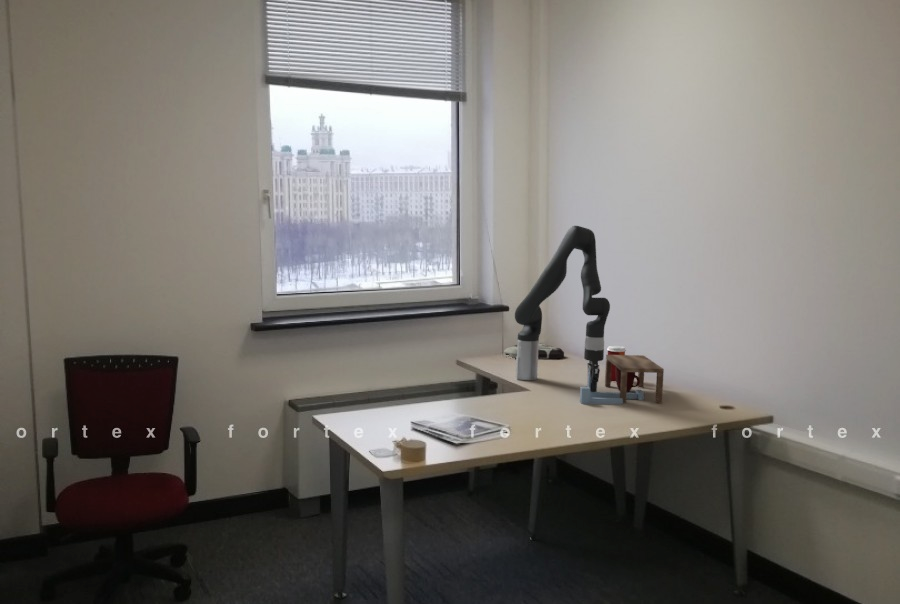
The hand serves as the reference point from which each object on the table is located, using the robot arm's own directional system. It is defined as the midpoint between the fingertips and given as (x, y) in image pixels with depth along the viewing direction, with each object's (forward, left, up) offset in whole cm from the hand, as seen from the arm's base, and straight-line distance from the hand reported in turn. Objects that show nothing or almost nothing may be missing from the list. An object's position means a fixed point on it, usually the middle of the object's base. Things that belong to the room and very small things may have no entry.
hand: (592, 390), depth 311 cm
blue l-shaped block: (+2, -10, -3) cm, 10 cm away
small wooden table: (+18, +7, -3) cm, 19 cm away
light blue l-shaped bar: (+9, 0, -3) cm, 9 cm away
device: (-10, +94, -3) cm, 95 cm away
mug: (+17, +11, -3) cm, 20 cm away
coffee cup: (+17, +34, -3) cm, 38 cm away
